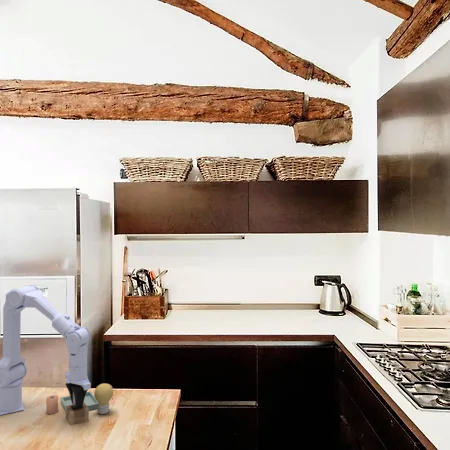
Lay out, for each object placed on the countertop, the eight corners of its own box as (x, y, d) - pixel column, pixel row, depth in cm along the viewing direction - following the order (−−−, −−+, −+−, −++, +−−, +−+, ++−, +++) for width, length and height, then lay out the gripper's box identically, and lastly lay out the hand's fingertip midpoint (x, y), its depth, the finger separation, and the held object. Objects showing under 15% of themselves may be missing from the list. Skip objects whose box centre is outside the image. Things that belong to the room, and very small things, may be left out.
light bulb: (114, 408, 149) (115, 380, 148) (110, 416, 142) (110, 387, 142) (96, 408, 148) (97, 380, 148) (91, 416, 142) (92, 387, 142)
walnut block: (65, 417, 141) (65, 406, 141) (83, 413, 144) (83, 401, 144) (70, 425, 136) (70, 413, 136) (88, 420, 139) (88, 408, 139)
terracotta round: (45, 411, 146) (45, 396, 146) (56, 408, 148) (56, 394, 148) (47, 415, 143) (47, 400, 143) (59, 412, 145) (59, 397, 145)
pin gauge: (71, 411, 140) (71, 390, 140) (78, 409, 142) (78, 388, 142) (74, 413, 138) (74, 393, 138) (81, 411, 140) (81, 391, 140)
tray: (60, 402, 152) (60, 397, 152) (90, 395, 159) (90, 391, 159) (68, 415, 143) (68, 410, 142) (100, 408, 149) (100, 403, 149)
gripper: (56, 362, 142) (56, 401, 142) (76, 373, 132) (75, 415, 132) (76, 357, 147) (76, 395, 147) (96, 368, 137) (96, 408, 137)
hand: (77, 404), depth 140 cm, fingers closed on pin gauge, 2 cm apart
